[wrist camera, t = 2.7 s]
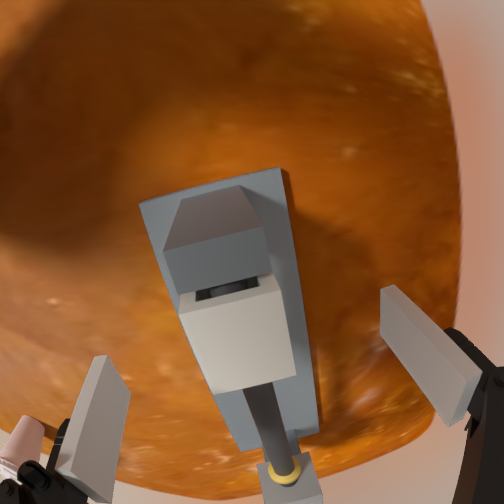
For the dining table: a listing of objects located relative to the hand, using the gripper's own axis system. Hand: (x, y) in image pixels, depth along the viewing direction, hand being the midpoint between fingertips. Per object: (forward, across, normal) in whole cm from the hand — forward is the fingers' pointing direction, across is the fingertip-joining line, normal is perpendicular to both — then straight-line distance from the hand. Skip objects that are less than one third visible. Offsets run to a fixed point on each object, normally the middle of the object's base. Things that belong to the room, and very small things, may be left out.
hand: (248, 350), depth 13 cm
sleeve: (+4, 0, 0) cm, 4 cm away
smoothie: (+11, -32, -16) cm, 38 cm away
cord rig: (+11, 0, -10) cm, 15 cm away
